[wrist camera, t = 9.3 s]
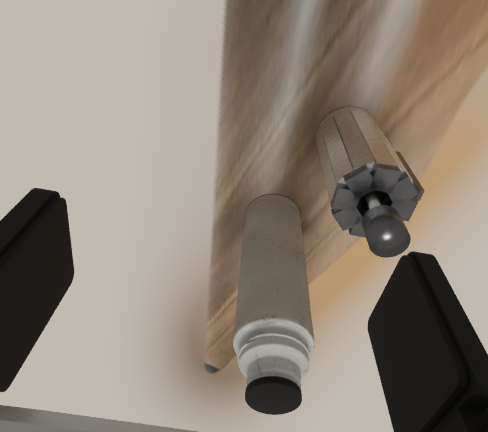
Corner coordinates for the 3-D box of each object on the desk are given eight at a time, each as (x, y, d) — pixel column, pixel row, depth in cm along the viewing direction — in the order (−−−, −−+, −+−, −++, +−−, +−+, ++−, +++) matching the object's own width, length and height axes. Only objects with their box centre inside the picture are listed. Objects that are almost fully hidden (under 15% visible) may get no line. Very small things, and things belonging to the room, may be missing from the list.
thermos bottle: (307, 229, 57) (333, 418, 34) (258, 245, 59) (250, 432, 36) (288, 186, 53) (302, 366, 30) (236, 204, 55) (211, 385, 32)
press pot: (325, 101, 46) (347, 161, 33) (401, 116, 47) (453, 180, 34) (309, 157, 51) (323, 230, 37) (379, 170, 51) (417, 246, 38)
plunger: (338, 126, 44) (371, 213, 30) (377, 133, 45) (429, 224, 30) (326, 162, 47) (352, 258, 32) (363, 168, 47) (405, 267, 32)
